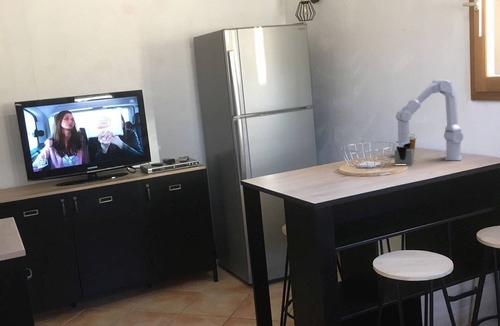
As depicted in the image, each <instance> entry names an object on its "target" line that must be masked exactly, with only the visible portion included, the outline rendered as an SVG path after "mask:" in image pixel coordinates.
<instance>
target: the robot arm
mask: <svg viewBox="0 0 500 326" xmlns="http://www.w3.org/2000/svg"><path fill="white" fill-rule="evenodd" d="M437 93H440V94H442V96H444V97H445V111H446V113H445V114H446V126H445V128H444V129H445V130H444V134H443V137H444V140H445V142H446V144H445V145H446V146H445V148H446V149H445V151H446V152H445V153H446V154H445V155H446V156H445V158H444V161H462V158H463V155H461V154H462V153H461V152H462V151H461V149H462V147H461V146H462V141H463V139H464V134H463V133H462V128H461V127H460V125H459V120H458V119H459V118H458V105H457V91H456V89H455V88H454V86H453V83H452V82H451V81H449V80H448V79H440V78H439V79H438V78H435V79H433V80H432V82H430V83H428V85H427V87H425V88H424V90H423V91H422V92H421V93H420V94H419V95H418V96H417V97H416V98H415V99H411V100H409V101H408V102H407V104H406V105H404V106H403V107H402V109H400V110H398V111H397V112H396V115H395V119H396V120H397V140H396V141H395V143H396V144H398V145H397V146H396V147H395V148H396V149H397V150H398V152H399V156H400V160H405V155H406V150H407V149H409V148H410V145H411V143H410V141H409V134H410V120H411V119H412V116H413V115H414V114H415V113H416V112H418V110H419V109H420V108H421V105H422V103H423V102H425V100H427V99H428V98H429V97H430V96H432V94H437Z"/></svg>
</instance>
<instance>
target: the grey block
mask: <svg viewBox="0 0 500 326" xmlns="http://www.w3.org/2000/svg"><path fill="white" fill-rule="evenodd" d="M414 156H415V150H414V149H407V150H406V155H405V160H400V156H399V152H398V150H397V148H396V149H395V150H394V165H395V164H406V165H411V166H413V165H414V162H415V157H414Z"/></svg>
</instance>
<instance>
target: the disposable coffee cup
mask: <svg viewBox="0 0 500 326" xmlns="http://www.w3.org/2000/svg"><path fill="white" fill-rule="evenodd" d="M416 139H417V135H416V134H413V133H409V141H410V143H411V145H410V148H409V149H414V151H415V149H416Z"/></svg>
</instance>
